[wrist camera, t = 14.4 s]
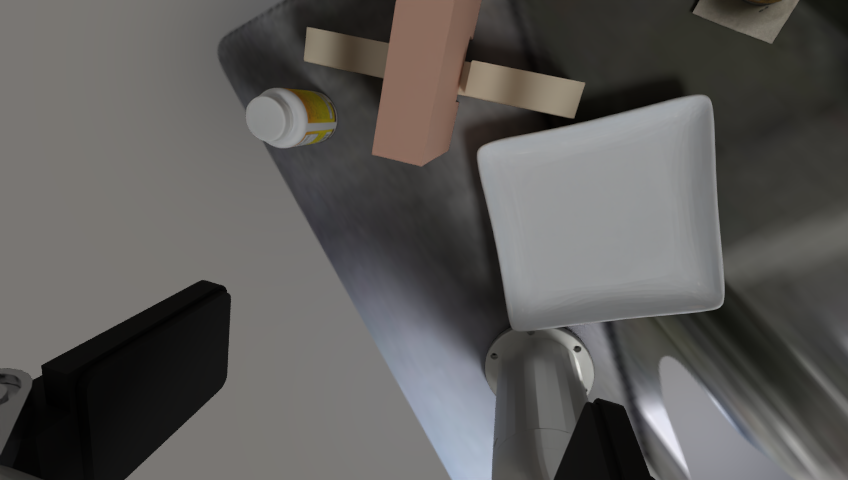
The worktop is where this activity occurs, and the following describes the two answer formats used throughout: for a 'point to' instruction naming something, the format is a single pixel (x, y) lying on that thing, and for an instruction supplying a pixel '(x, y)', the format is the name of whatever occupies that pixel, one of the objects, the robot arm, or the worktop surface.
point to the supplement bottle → (291, 117)
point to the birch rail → (475, 78)
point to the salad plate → (608, 217)
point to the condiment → (748, 15)
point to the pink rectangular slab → (423, 78)
